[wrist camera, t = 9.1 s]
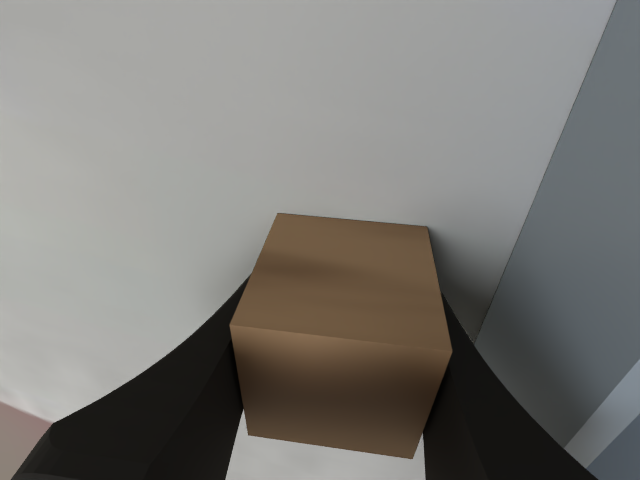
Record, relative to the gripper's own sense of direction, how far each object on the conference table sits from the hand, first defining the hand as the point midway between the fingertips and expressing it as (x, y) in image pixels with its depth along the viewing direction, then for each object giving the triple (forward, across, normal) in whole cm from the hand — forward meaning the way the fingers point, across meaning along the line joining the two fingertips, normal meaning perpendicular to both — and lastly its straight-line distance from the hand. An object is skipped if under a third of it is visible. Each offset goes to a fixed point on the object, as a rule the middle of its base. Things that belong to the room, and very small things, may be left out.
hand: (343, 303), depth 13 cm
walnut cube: (+1, 0, 0) cm, 1 cm away
